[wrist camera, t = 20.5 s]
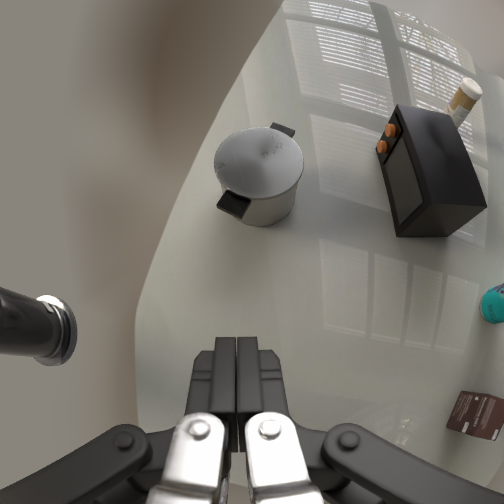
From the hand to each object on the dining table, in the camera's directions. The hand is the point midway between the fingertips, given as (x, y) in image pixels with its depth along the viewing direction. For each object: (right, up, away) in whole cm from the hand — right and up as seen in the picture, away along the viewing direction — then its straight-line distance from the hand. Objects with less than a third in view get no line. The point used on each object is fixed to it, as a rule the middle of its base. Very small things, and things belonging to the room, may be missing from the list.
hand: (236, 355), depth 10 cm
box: (+33, -20, +19) cm, 43 cm away
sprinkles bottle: (+40, +29, +35) cm, 61 cm away
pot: (+2, +12, +31) cm, 33 cm away
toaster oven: (+26, +14, +31) cm, 43 cm away
